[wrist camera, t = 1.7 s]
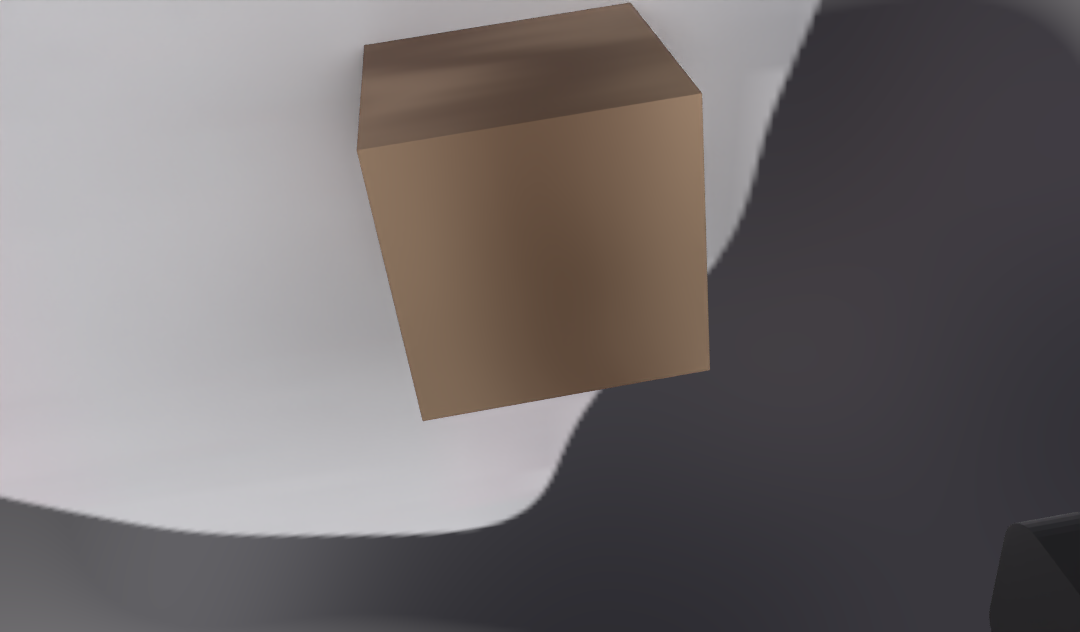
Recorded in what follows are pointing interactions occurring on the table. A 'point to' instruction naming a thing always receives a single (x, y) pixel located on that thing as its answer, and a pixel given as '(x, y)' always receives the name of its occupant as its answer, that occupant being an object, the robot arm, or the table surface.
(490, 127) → the walnut block
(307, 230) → the table surface
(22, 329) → the table surface
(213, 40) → the table surface
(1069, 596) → the robot arm
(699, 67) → the table surface
